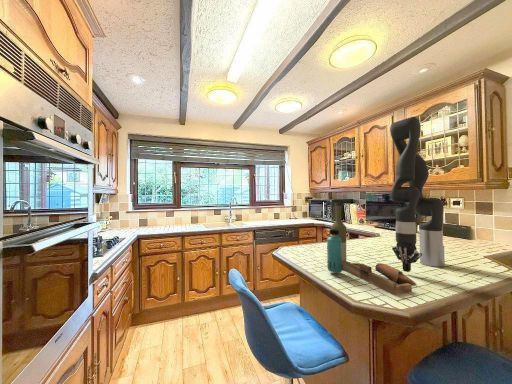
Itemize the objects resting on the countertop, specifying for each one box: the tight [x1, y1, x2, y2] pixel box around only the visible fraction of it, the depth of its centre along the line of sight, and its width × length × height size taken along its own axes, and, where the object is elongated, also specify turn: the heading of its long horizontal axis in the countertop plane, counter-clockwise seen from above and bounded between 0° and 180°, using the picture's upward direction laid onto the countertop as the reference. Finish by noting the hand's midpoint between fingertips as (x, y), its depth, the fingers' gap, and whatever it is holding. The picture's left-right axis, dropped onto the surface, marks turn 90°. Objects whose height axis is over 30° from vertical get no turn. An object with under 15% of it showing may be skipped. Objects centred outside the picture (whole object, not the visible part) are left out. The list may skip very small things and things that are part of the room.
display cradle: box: [342, 260, 413, 296], centre depth 91 cm, size 8×28×6 cm, turn 14°
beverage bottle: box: [326, 228, 343, 274], centre depth 98 cm, size 6×7×20 cm
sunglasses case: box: [375, 262, 418, 286], centre depth 93 cm, size 18×7×7 cm
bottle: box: [330, 205, 347, 269], centre depth 108 cm, size 7×7×30 cm
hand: (406, 271), depth 95 cm, fingers closed
